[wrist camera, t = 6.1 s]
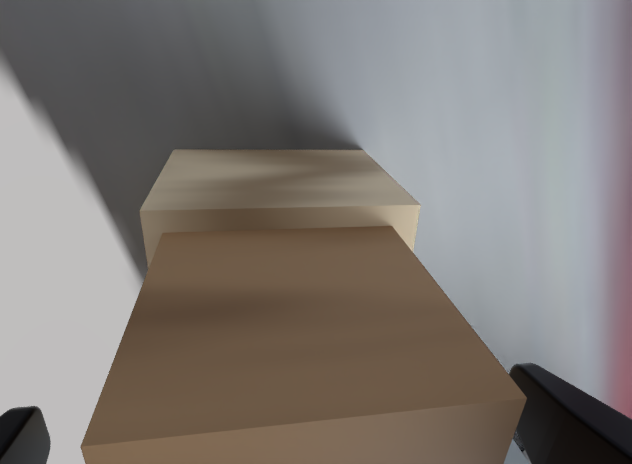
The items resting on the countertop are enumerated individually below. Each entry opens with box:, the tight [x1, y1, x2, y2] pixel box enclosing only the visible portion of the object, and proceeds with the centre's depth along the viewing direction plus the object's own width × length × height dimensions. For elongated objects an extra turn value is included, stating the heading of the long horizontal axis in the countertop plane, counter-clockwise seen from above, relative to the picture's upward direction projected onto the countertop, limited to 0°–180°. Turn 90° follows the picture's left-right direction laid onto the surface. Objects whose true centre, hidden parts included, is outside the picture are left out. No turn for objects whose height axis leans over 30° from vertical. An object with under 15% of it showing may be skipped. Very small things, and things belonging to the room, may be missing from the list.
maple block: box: [139, 149, 421, 269], centre depth 12 cm, size 6×6×5 cm
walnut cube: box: [81, 226, 527, 464], centre depth 8 cm, size 5×5×5 cm
